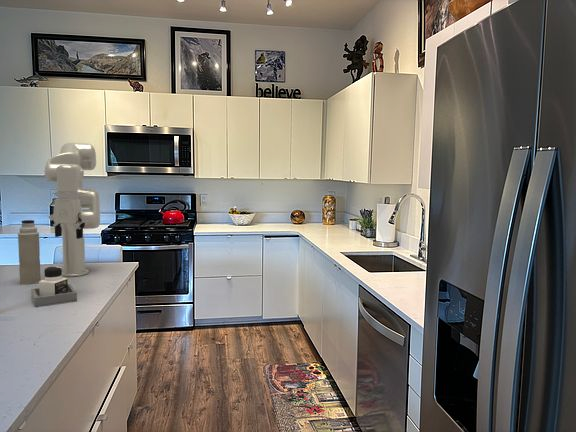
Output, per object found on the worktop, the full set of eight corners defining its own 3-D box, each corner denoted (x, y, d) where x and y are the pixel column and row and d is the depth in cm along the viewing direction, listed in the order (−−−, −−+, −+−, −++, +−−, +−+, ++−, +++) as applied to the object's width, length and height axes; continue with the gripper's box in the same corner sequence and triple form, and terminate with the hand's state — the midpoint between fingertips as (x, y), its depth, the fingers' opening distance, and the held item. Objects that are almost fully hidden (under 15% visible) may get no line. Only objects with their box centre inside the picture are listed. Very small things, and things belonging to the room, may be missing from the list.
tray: (31, 297, 167) (31, 288, 166) (70, 292, 175) (70, 284, 175) (35, 307, 155) (35, 298, 155) (76, 301, 164) (76, 292, 163)
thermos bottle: (37, 278, 194) (35, 218, 191) (43, 282, 189) (41, 220, 186) (17, 281, 188) (15, 220, 185) (23, 285, 183) (20, 221, 180)
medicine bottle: (55, 300, 161) (54, 270, 160) (39, 298, 162) (38, 268, 161) (68, 295, 168) (67, 266, 167) (52, 293, 169) (51, 264, 168)
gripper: (41, 195, 167) (43, 237, 169) (80, 197, 164) (82, 240, 166) (55, 193, 174) (56, 234, 176) (92, 196, 171) (93, 237, 173)
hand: (69, 237), depth 171 cm, fingers open, 9 cm apart
